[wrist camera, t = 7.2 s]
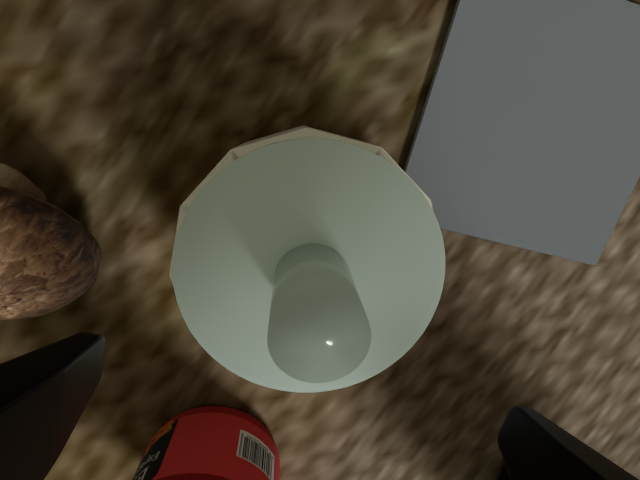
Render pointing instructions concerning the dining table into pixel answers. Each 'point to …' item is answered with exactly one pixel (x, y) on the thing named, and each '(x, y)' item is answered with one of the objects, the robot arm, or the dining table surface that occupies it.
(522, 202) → the mat
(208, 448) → the canned food
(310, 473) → the dining table surface
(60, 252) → the mushroom
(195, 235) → the lid
